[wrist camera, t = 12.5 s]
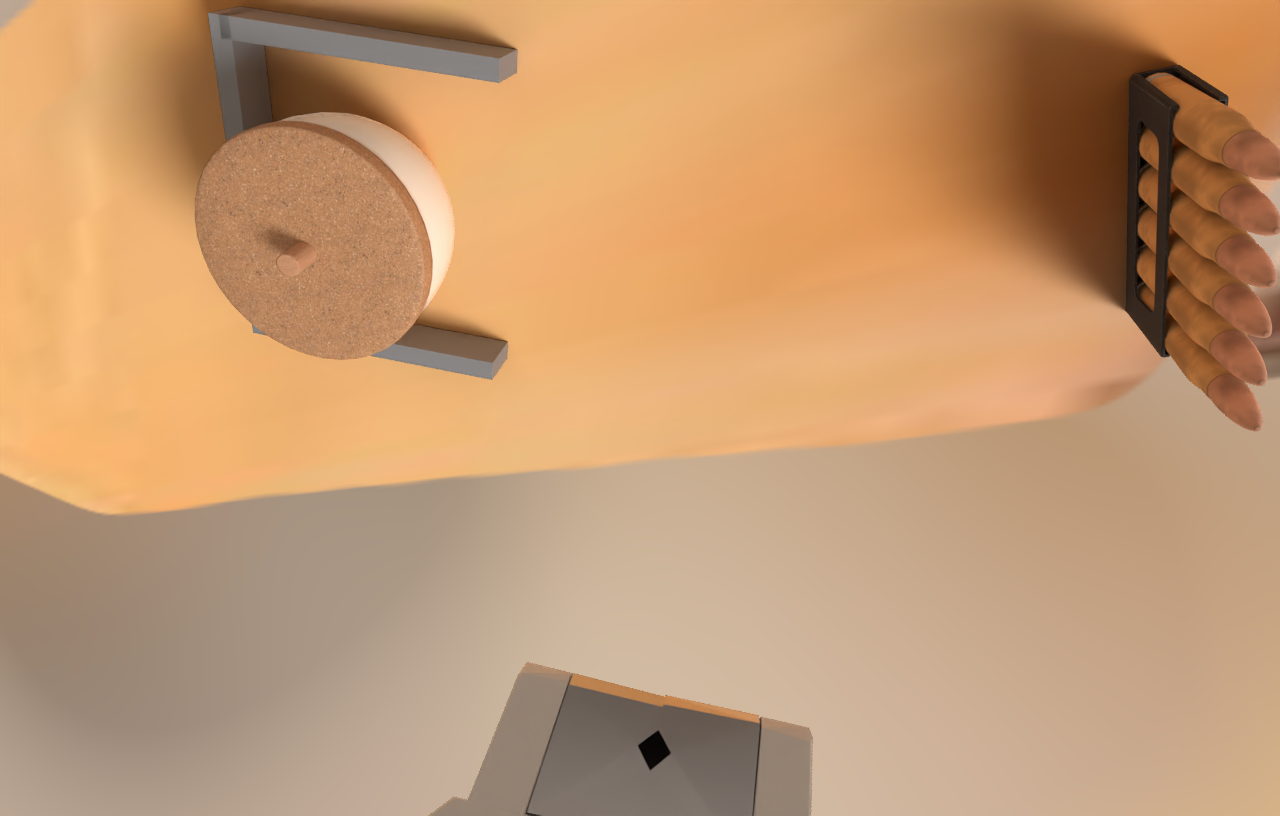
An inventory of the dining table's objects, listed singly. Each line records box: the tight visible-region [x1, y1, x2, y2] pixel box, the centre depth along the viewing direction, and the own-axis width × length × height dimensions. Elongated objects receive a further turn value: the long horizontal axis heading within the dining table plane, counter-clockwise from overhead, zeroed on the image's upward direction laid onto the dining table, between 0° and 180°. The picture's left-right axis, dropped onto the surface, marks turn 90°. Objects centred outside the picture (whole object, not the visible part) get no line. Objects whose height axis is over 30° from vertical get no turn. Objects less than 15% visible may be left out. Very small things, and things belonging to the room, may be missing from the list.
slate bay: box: [208, 6, 517, 380], centre depth 43 cm, size 14×16×2 cm
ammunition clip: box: [1126, 65, 1280, 431], centre depth 32 cm, size 11×2×12 cm, turn 14°
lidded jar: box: [195, 112, 455, 360], centre depth 40 cm, size 11×11×9 cm
